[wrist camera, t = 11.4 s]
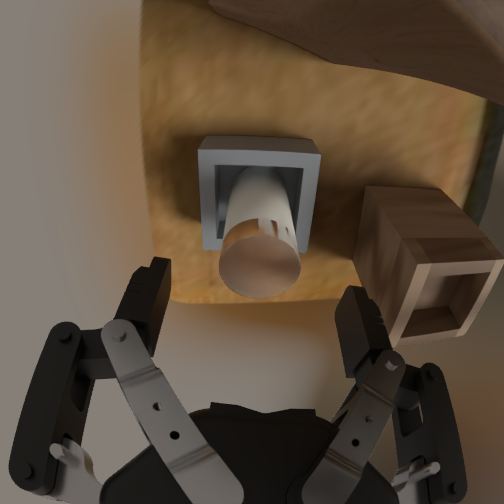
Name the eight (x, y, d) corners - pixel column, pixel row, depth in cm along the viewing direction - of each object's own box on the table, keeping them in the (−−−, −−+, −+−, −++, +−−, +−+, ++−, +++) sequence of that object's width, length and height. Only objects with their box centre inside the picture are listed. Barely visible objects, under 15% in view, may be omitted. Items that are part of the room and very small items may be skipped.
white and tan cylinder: (223, 173, 21) (206, 247, 14) (277, 159, 21) (290, 225, 13) (241, 219, 24) (234, 304, 16) (291, 206, 23) (307, 289, 16)
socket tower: (365, 185, 23) (417, 264, 15) (441, 189, 22) (505, 259, 14) (352, 260, 27) (383, 348, 19) (421, 258, 27) (464, 335, 19)
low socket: (206, 135, 21) (197, 149, 18) (311, 139, 21) (321, 154, 18) (209, 224, 25) (203, 249, 22) (300, 227, 25) (306, 253, 22)
